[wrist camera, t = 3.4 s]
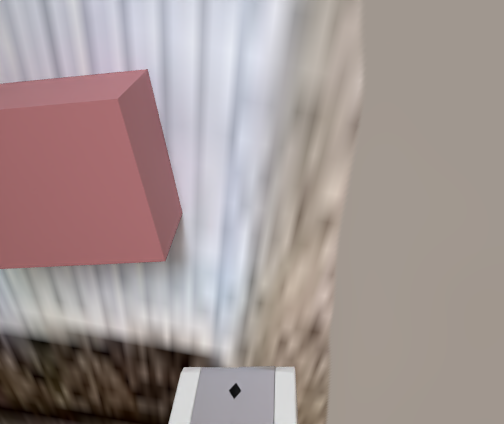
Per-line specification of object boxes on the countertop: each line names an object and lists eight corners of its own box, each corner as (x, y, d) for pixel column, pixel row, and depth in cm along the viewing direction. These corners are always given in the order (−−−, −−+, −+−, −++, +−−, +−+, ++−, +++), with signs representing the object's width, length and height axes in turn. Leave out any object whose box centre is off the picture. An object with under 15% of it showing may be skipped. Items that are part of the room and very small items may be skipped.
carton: (-60, 88, 23) (-136, 121, 18) (149, 68, 21) (117, 99, 17) (10, 220, 27) (-37, 270, 23) (183, 210, 26) (165, 261, 22)
